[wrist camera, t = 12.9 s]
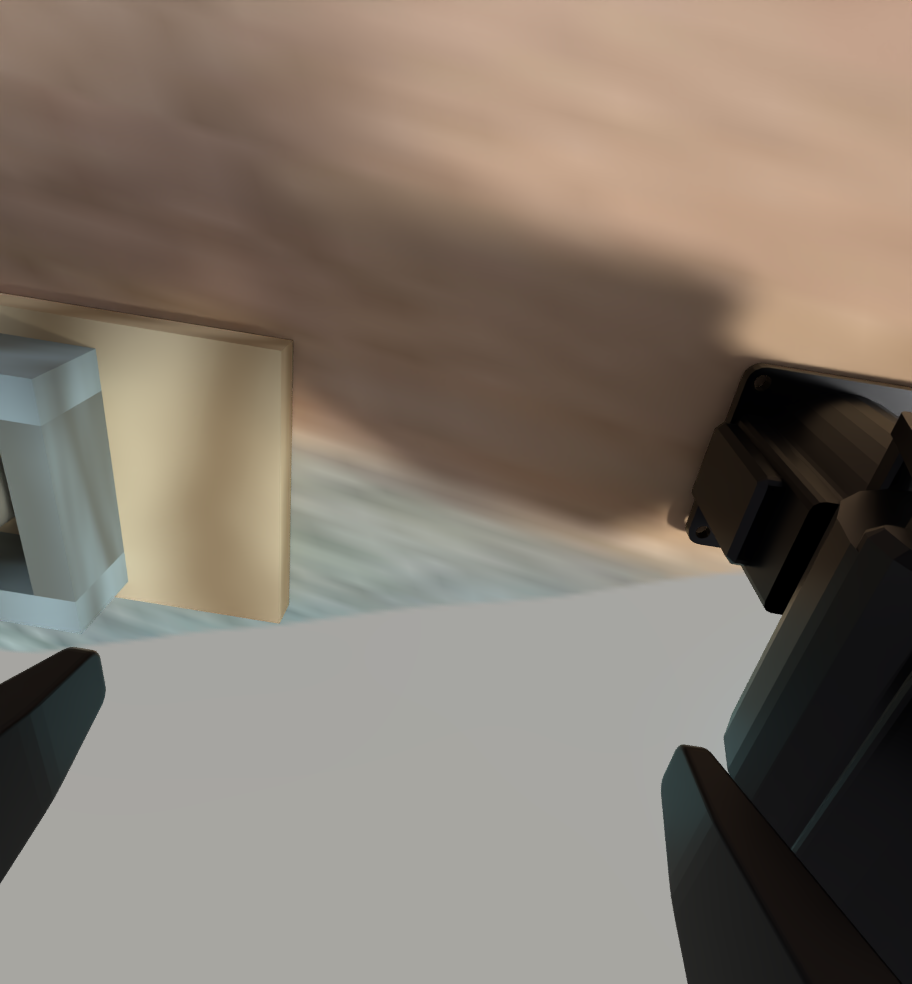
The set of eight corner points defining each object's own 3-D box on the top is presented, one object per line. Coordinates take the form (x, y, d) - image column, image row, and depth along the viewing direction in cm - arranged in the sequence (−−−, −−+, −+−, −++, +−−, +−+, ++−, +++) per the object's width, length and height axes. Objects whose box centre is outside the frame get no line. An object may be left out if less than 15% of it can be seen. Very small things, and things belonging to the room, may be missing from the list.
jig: (293, 340, 20) (245, 382, 17) (289, 604, 26) (251, 680, 22) (-196, 260, 20) (-351, 285, 17) (-98, 541, 26) (-200, 607, 22)
